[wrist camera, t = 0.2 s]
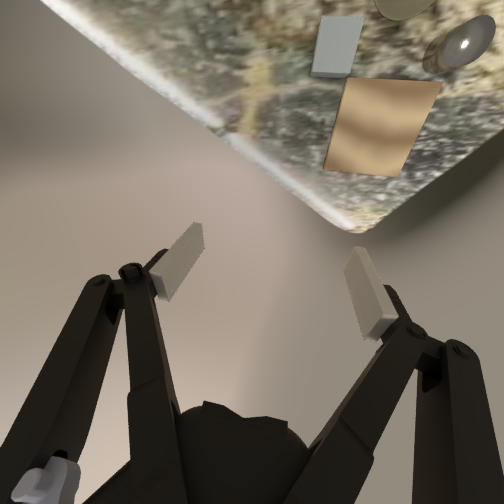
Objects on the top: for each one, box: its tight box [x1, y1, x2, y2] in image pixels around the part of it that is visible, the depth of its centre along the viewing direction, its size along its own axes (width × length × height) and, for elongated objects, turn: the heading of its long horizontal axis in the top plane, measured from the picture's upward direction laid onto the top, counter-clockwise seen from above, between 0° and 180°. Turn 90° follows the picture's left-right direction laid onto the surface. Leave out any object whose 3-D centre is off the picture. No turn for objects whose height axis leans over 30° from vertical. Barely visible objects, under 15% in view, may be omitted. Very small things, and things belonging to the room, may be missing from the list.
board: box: [323, 77, 443, 177], centre depth 33 cm, size 13×13×1 cm
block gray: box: [310, 16, 365, 78], centre depth 27 cm, size 5×5×5 cm
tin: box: [423, 15, 496, 73], centre depth 24 cm, size 4×4×6 cm
